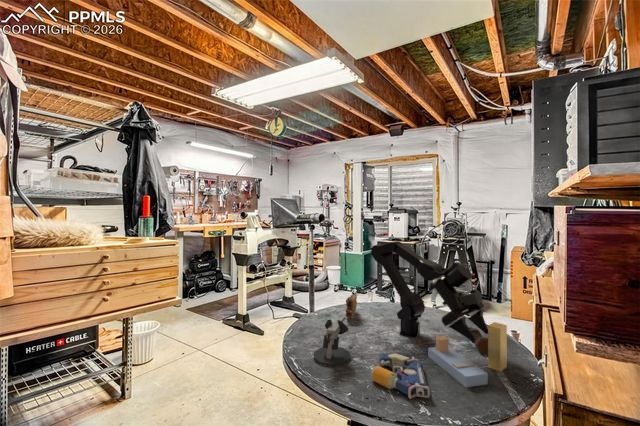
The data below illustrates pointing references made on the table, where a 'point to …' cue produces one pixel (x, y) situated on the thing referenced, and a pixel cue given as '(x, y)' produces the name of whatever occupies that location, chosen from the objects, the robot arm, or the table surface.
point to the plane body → (456, 364)
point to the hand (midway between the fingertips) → (481, 337)
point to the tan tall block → (497, 346)
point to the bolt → (480, 341)
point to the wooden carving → (351, 305)
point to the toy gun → (402, 375)
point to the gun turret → (333, 346)
